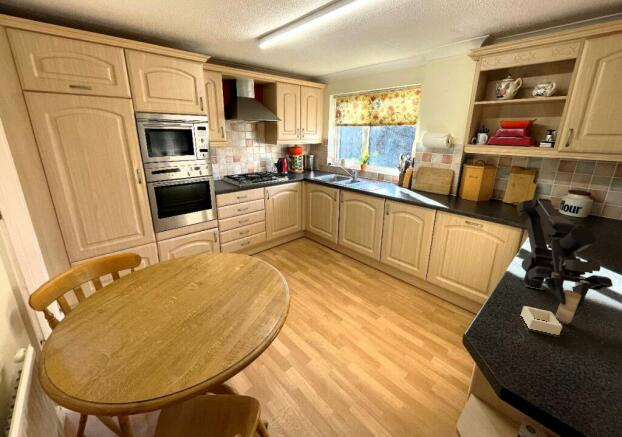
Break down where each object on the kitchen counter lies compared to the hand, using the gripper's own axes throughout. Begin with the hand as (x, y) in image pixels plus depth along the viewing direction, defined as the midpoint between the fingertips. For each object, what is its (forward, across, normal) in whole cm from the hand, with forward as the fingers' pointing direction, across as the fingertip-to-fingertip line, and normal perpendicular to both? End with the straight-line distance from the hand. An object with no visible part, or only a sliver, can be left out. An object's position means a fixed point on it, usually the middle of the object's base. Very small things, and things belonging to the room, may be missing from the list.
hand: (571, 305), depth 79 cm
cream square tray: (+8, -8, +2) cm, 11 cm away
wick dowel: (+4, 0, +6) cm, 7 cm away
